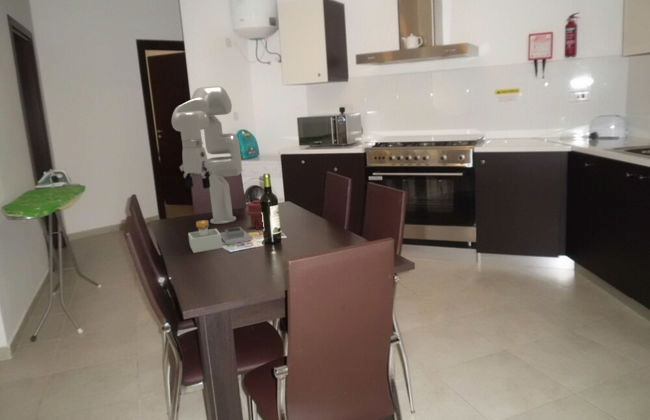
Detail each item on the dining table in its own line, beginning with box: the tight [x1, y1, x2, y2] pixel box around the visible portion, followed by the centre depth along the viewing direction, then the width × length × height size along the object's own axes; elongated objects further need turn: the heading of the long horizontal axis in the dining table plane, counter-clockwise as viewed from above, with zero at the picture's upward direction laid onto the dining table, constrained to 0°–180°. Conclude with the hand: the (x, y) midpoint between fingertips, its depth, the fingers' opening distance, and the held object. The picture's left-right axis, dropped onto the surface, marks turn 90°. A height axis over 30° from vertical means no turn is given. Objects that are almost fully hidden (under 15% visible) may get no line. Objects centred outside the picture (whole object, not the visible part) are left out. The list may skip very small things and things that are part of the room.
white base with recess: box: [219, 226, 251, 245], centre depth 212 cm, size 14×10×4 cm
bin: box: [187, 228, 223, 254], centre depth 203 cm, size 11×11×6 cm
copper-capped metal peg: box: [195, 219, 210, 237], centre depth 202 cm, size 5×5×10 cm
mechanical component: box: [246, 199, 264, 230], centre depth 228 cm, size 12×10×10 cm
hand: (198, 187), depth 199 cm, fingers open, 9 cm apart
